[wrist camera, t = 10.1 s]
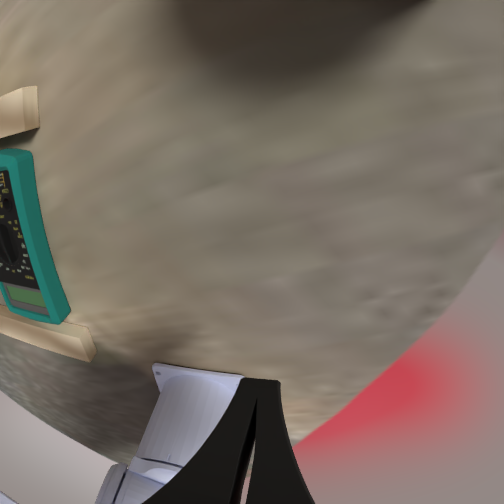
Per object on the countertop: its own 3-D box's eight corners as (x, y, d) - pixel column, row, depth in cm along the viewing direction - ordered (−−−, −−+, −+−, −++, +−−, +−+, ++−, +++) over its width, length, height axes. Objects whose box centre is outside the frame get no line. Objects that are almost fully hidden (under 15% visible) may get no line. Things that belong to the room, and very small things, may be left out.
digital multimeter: (36, 141, 18) (7, 150, 15) (75, 311, 24) (58, 332, 22) (-15, 153, 18) (-39, 163, 16) (24, 299, 25) (7, 316, 23)
